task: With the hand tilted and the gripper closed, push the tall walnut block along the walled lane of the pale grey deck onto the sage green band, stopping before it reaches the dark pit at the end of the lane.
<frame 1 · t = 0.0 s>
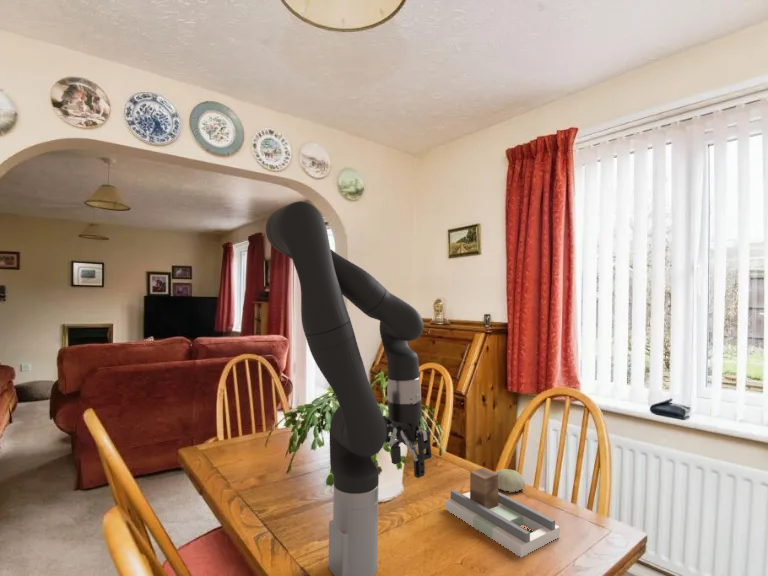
hand: (407, 469, 93), 17 cm above the table, tool pointing down, fingers open, 8 cm apart
walnut block: (484, 504, 107), point 2 cm above the table, touching lane deck
sea urchin shell: (508, 488, 123), on the table
lane deck: (499, 522, 103), on the table
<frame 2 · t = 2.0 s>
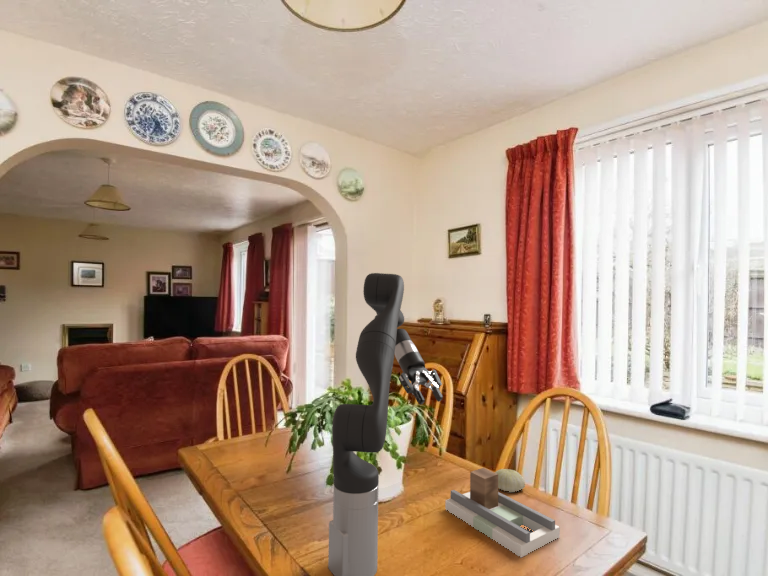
hand: (431, 401, 126), 24 cm above the table, tool tilted 45°, fingers open, 6 cm apart
nothing on the table moved.
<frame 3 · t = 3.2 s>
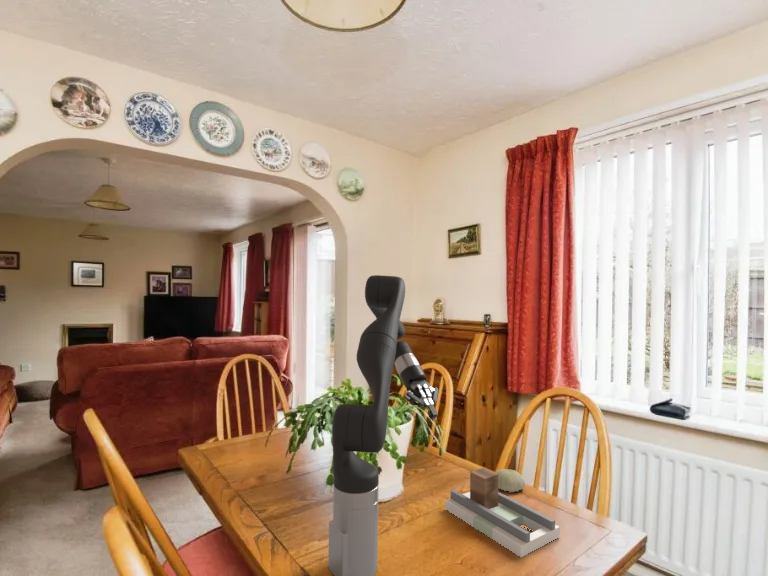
hand: (434, 417, 124), 20 cm above the table, tool tilted 45°, fingers closed
nothing on the table moved.
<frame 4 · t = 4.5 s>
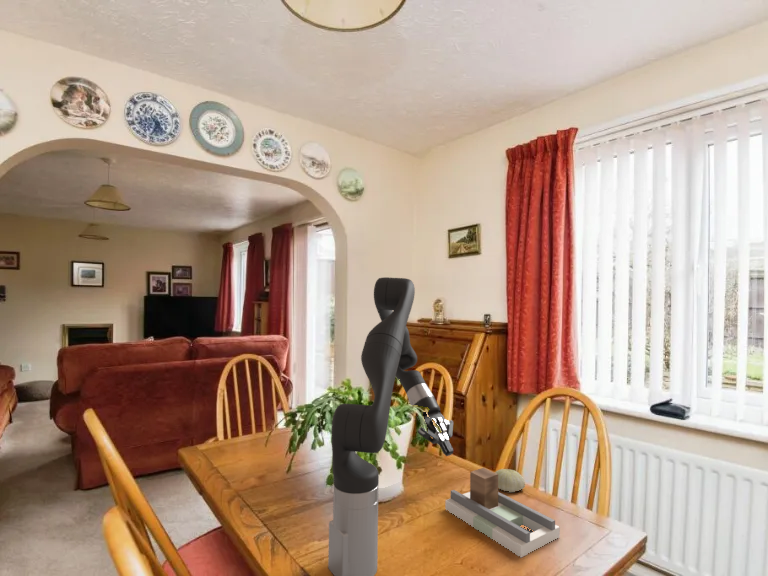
hand: (450, 454, 118), 11 cm above the table, tool tilted 45°, fingers closed
nothing on the table moved.
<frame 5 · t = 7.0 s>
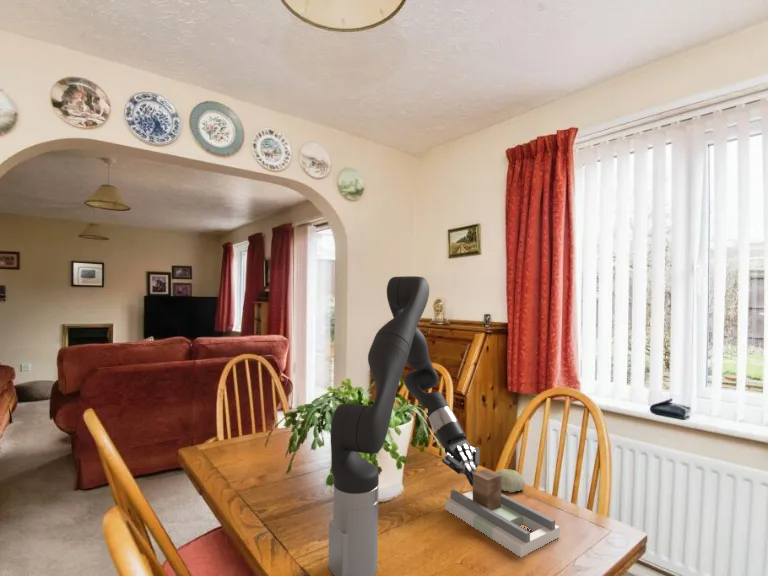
hand: (477, 486, 109), 6 cm above the table, tool tilted 45°, fingers closed
walnut block: (486, 505, 107), point 2 cm above the table, touching gripper, lane deck
everything else where it was.
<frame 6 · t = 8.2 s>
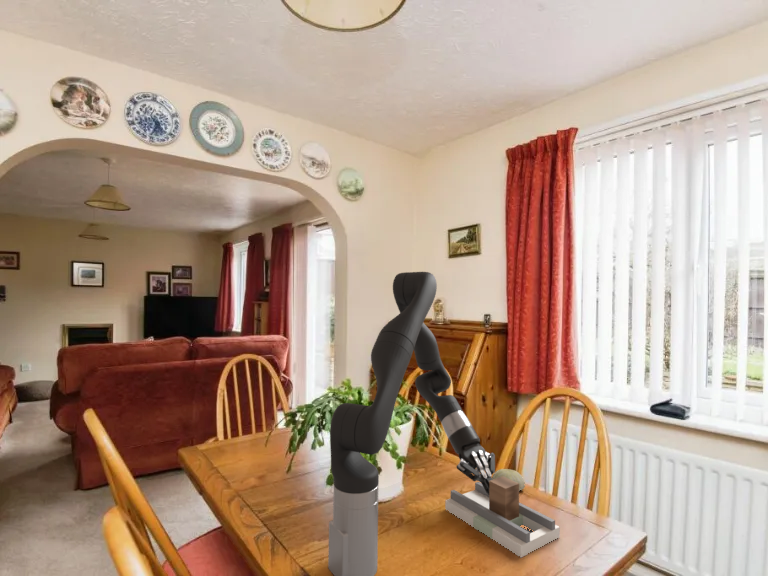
hand: (494, 493, 105), 6 cm above the table, tool tilted 45°, fingers closed
walnut block: (503, 515, 102), point 2 cm above the table, touching gripper, lane deck
everything else where it was.
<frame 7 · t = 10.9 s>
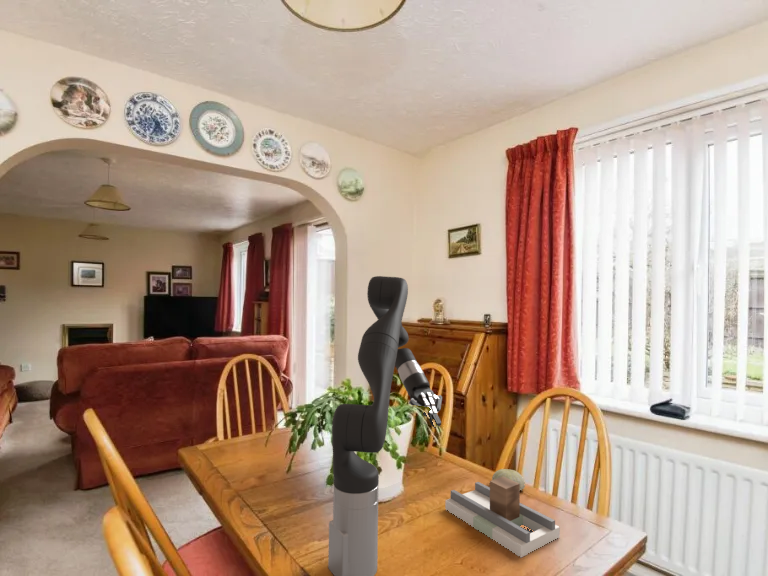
hand: (437, 426, 123), 18 cm above the table, tool tilted 45°, fingers closed
walnut block: (504, 515, 102), point 2 cm above the table, touching lane deck
everything else where it was.
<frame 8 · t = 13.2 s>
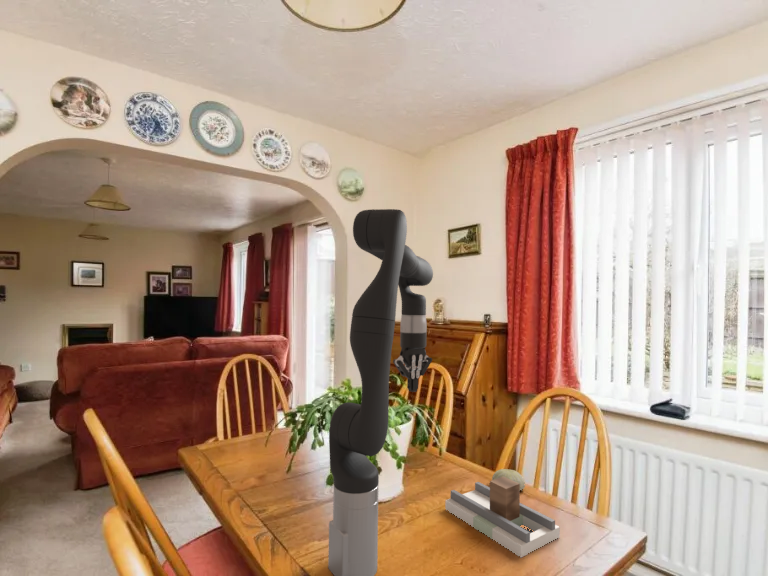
hand: (412, 391, 119), 29 cm above the table, tool pointing down, fingers closed
nothing on the table moved.
at the end: walnut block 0.8 cm from the target spot, point 2.5 cm above the table; walnut block tilted 0° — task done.
